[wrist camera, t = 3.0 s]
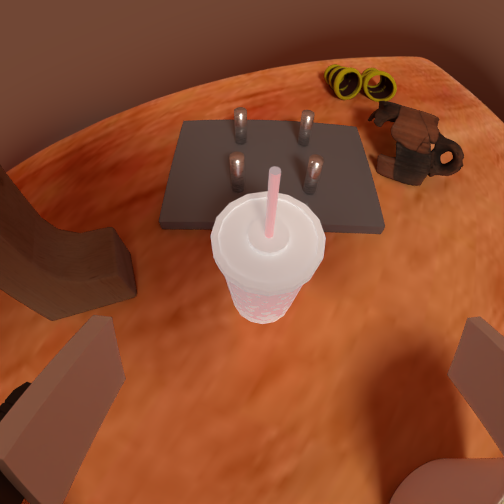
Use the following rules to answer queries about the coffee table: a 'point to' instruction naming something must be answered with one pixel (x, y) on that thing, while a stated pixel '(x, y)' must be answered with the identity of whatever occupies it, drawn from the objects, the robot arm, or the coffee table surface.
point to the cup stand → (257, 171)
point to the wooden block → (58, 261)
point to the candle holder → (454, 482)
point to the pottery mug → (415, 145)
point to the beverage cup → (267, 250)
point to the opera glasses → (359, 83)
